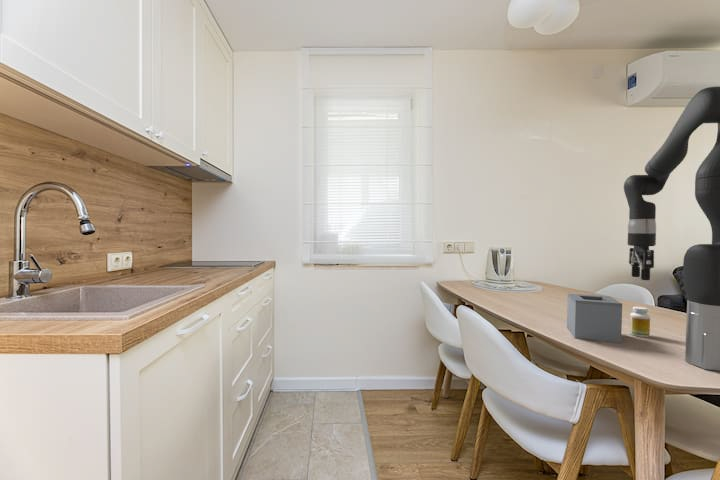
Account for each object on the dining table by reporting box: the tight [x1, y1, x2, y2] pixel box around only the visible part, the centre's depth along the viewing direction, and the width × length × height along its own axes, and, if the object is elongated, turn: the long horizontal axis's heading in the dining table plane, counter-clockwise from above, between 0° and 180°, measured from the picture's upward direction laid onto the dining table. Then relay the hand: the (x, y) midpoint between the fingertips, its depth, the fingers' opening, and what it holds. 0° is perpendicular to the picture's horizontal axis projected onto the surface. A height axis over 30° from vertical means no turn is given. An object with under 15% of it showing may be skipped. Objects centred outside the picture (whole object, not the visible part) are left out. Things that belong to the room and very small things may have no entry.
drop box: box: [566, 293, 623, 344], centre depth 117 cm, size 13×13×13 cm
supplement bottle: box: [629, 306, 651, 338], centre depth 117 cm, size 5×5×10 cm
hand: (640, 278), depth 117 cm, fingers open, 8 cm apart
